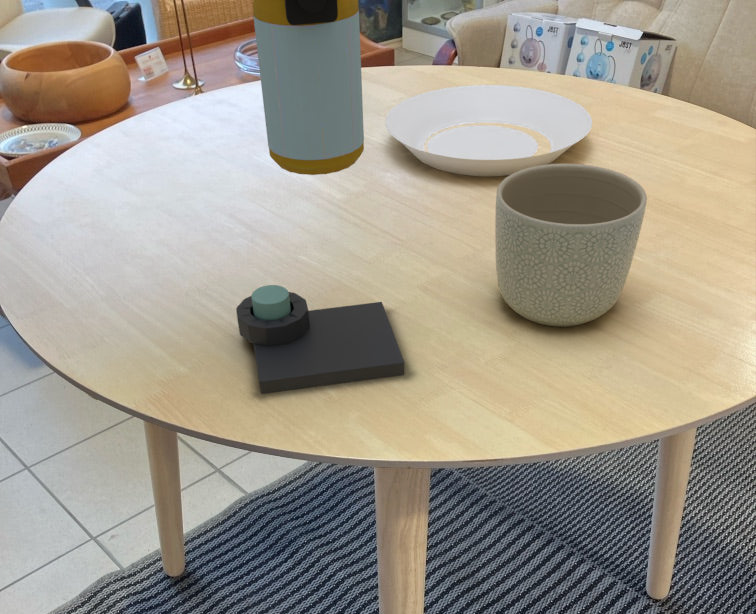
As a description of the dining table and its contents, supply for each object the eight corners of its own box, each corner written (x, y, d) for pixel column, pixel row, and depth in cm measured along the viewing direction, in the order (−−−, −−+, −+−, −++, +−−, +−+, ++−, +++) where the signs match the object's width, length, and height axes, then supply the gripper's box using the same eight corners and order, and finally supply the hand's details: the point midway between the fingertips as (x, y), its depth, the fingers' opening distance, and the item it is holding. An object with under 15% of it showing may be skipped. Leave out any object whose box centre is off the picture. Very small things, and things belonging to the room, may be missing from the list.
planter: (548, 359, 73) (563, 240, 65) (462, 298, 81) (467, 185, 73) (654, 315, 77) (679, 199, 70) (563, 262, 85) (577, 152, 78)
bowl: (577, 199, 95) (581, 167, 93) (362, 181, 101) (361, 150, 98) (595, 119, 113) (600, 90, 110) (411, 107, 118) (411, 80, 116)
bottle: (381, 150, 64) (375, -90, 54) (331, 184, 60) (314, -69, 50) (304, 135, 67) (285, -97, 57) (251, 167, 63) (219, -78, 52)
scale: (249, 400, 70) (243, 364, 68) (239, 329, 78) (234, 295, 76) (404, 379, 72) (404, 343, 69) (380, 311, 79) (379, 277, 77)
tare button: (255, 324, 73) (252, 305, 71) (252, 305, 75) (249, 287, 74) (292, 319, 73) (290, 301, 72) (288, 300, 75) (286, 282, 74)
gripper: (196, -368, 50) (238, -20, 62) (209, -391, 38) (259, 50, 50) (322, -372, 51) (340, -28, 63) (376, -395, 39) (385, 39, 51)
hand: (304, 4), depth 56 cm, fingers closed on bottle, 7 cm apart
